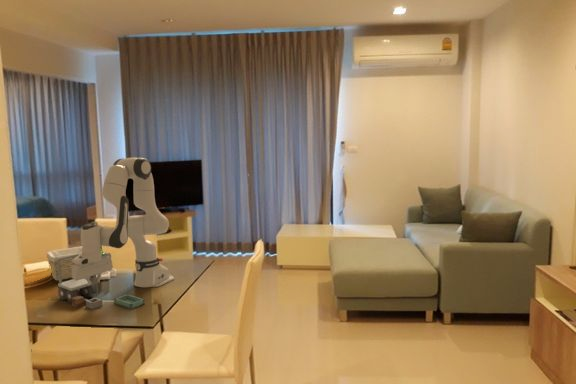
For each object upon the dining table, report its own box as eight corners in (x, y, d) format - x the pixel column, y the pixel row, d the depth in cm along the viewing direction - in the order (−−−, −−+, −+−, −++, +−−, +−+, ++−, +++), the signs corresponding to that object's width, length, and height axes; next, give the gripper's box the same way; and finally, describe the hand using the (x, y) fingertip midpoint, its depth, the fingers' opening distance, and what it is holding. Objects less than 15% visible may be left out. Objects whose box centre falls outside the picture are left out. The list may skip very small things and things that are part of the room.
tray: (128, 298, 246) (127, 294, 246) (144, 304, 239) (144, 299, 239) (114, 303, 240) (114, 298, 240) (131, 309, 233) (130, 304, 232)
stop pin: (96, 291, 238) (94, 269, 237) (100, 292, 236) (98, 270, 235) (89, 293, 235) (87, 271, 234) (93, 294, 233) (91, 272, 232)
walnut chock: (84, 305, 237) (83, 297, 236) (76, 308, 234) (76, 299, 233) (79, 304, 239) (79, 295, 239) (72, 306, 236) (71, 297, 235)
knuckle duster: (82, 283, 272) (84, 275, 285) (115, 280, 277) (116, 272, 291) (81, 277, 271) (84, 269, 285) (115, 274, 276) (116, 267, 290)
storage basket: (53, 282, 272) (51, 257, 270) (47, 275, 285) (45, 251, 283) (97, 274, 286) (95, 250, 284) (89, 267, 299) (87, 244, 297)
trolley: (79, 292, 256) (77, 253, 253) (110, 303, 241) (107, 261, 237) (58, 298, 246) (55, 258, 243) (88, 310, 231) (85, 267, 228)
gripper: (106, 250, 243) (108, 276, 245) (68, 260, 227) (71, 288, 229) (114, 252, 239) (116, 278, 242) (76, 263, 223) (78, 291, 225)
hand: (93, 283), depth 235 cm, fingers closed on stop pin, 3 cm apart
